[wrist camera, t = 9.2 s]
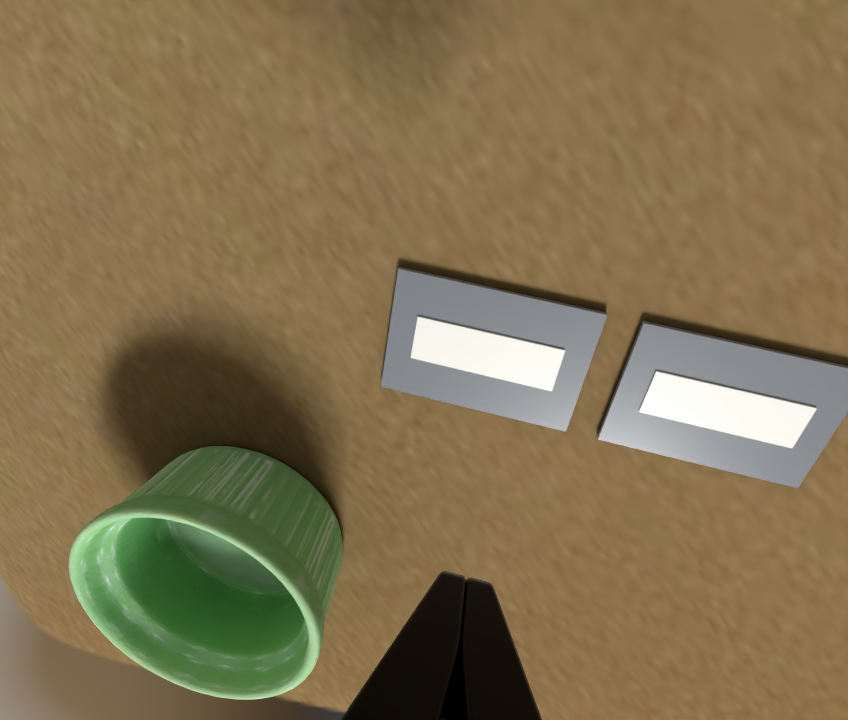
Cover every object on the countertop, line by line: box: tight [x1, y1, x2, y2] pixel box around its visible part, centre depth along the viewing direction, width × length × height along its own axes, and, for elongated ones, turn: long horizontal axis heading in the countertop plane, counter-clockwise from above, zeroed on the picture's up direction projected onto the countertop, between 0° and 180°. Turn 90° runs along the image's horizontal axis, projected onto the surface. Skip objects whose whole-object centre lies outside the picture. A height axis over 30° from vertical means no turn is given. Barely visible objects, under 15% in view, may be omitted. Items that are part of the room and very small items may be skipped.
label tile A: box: [597, 321, 848, 488], centre depth 15 cm, size 6×4×1 cm, turn 80°
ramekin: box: [69, 446, 343, 700], centre depth 20 cm, size 9×9×4 cm
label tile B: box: [381, 267, 607, 432], centre depth 16 cm, size 6×4×1 cm, turn 80°
